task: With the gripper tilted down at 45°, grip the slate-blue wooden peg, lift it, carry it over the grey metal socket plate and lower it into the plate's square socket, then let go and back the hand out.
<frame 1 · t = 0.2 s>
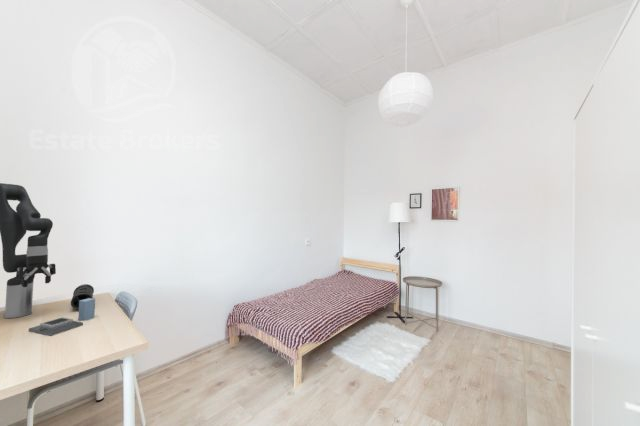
hand: (36, 285, 128), 18 cm above the table, tool pointing down, fingers open, 8 cm apart
peg: (86, 318, 128), on the table
muzzle brake: (82, 305, 149), on the table
grey metal socket plate: (56, 328, 117), on the table
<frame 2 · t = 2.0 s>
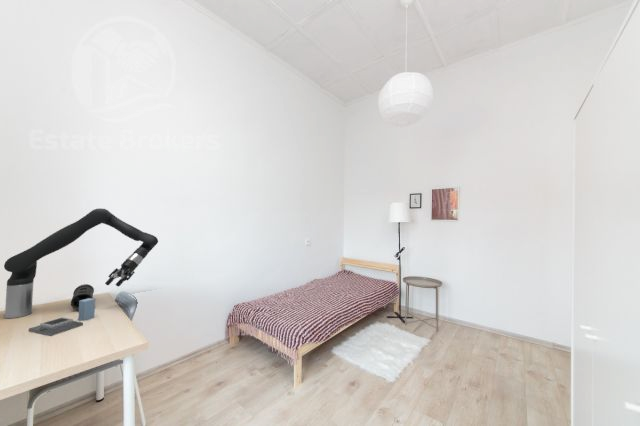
hand: (111, 285, 140), 15 cm above the table, tool tilted 45°, fingers open, 8 cm apart
nothing on the table moved.
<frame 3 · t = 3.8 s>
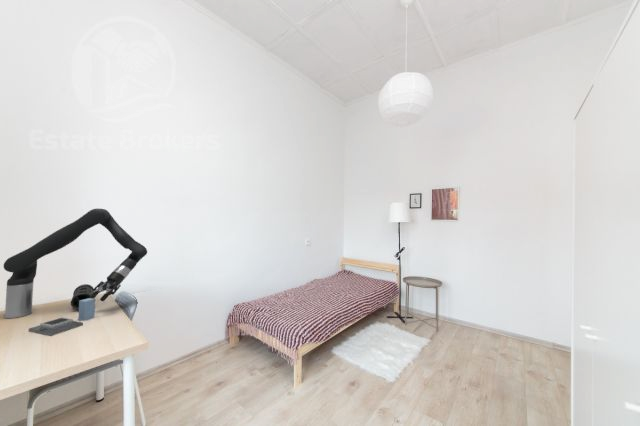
hand: (95, 299, 132), 9 cm above the table, tool tilted 45°, fingers open, 8 cm apart
nothing on the table moved.
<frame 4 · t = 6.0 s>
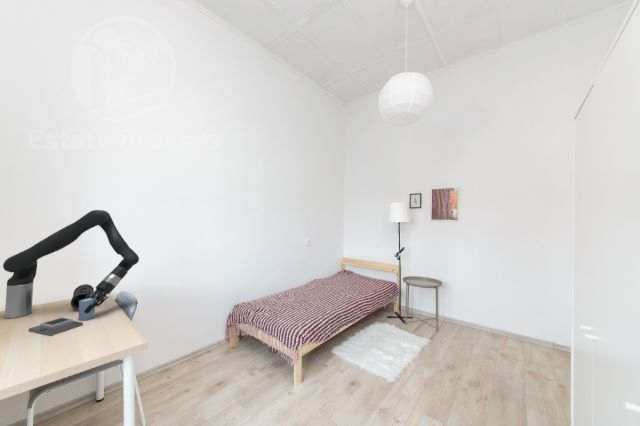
hand: (82, 312, 126), 4 cm above the table, tool tilted 45°, fingers closed on peg, 4 cm apart
peg: (86, 318, 128), on the table, touching gripper
everything else where it was.
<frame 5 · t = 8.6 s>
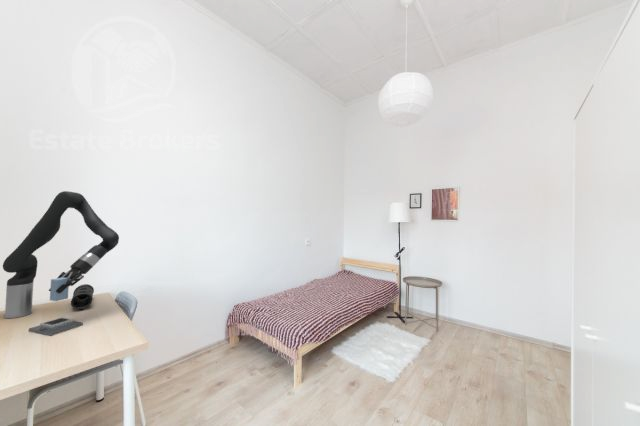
hand: (54, 291, 116), 18 cm above the table, tool tilted 45°, fingers closed on peg, 4 cm apart
peg: (58, 299, 117), point 14 cm above the table, touching gripper
everything else where it was.
when the fingers open (7 cm above the table, at t = 11.8 s): peg drops 1 cm, resting on grey metal socket plate.
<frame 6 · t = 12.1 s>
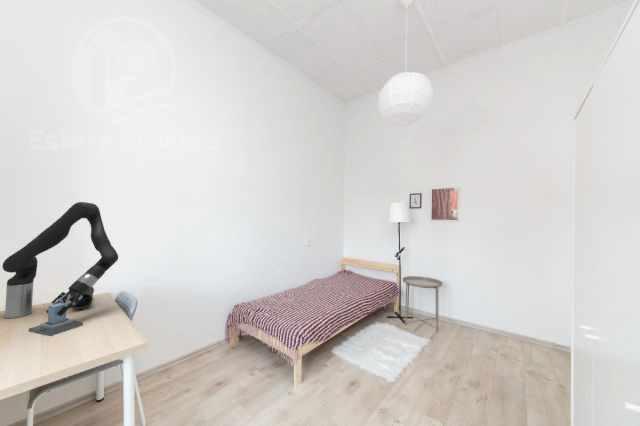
hand: (53, 314, 115), 7 cm above the table, tool tilted 45°, fingers open, 7 cm apart
peg: (56, 325, 117), point 1 cm above the table, touching grey metal socket plate
everything else where it was.
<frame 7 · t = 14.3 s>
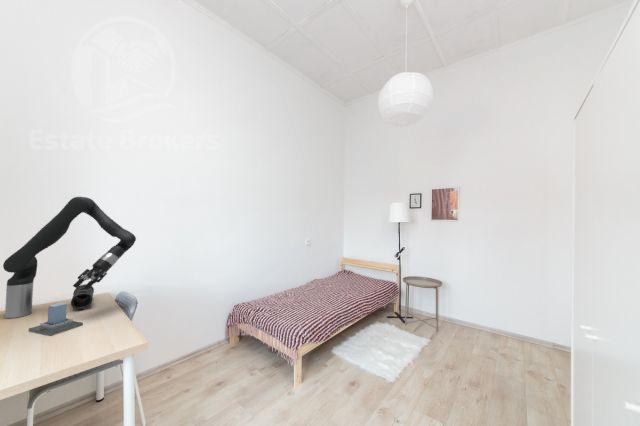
hand: (80, 287, 125), 17 cm above the table, tool tilted 45°, fingers open, 8 cm apart
nothing on the table moved.
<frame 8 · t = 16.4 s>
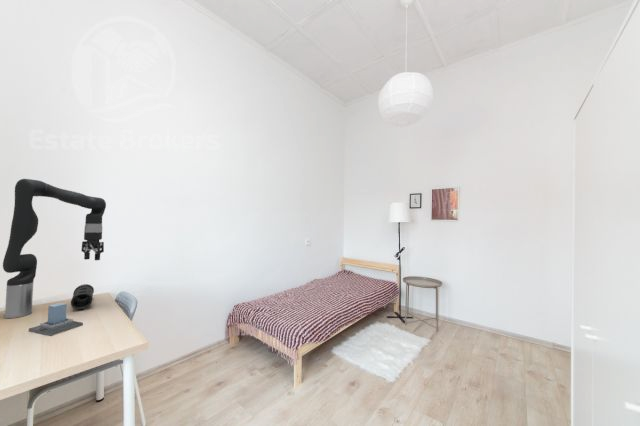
hand: (92, 259, 137), 30 cm above the table, tool pointing down, fingers open, 8 cm apart
nothing on the table moved.
at the end: peg 0.1 cm off-centre on the grey metal socket plate, point 1.2 cm above the grey metal socket plate's base; peg tilted 0°; the gripper is holding nothing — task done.
